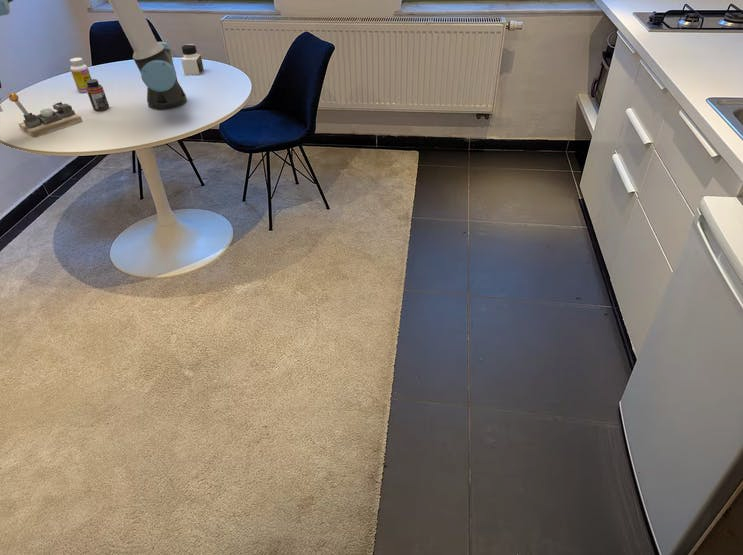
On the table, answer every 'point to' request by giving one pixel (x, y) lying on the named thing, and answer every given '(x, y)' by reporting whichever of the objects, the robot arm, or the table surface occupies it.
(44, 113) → the button
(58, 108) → the rocker
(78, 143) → the table surface
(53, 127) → the panel
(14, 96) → the lever
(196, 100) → the table surface
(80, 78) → the supplement bottle
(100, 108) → the supplement bottle
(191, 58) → the medicine bottle
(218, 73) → the table surface
